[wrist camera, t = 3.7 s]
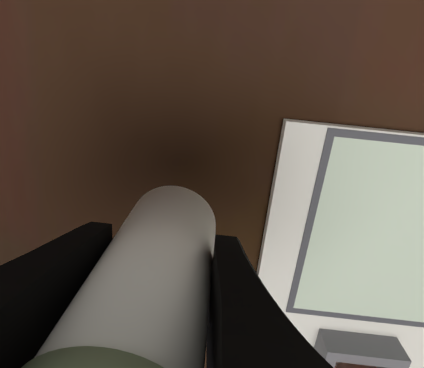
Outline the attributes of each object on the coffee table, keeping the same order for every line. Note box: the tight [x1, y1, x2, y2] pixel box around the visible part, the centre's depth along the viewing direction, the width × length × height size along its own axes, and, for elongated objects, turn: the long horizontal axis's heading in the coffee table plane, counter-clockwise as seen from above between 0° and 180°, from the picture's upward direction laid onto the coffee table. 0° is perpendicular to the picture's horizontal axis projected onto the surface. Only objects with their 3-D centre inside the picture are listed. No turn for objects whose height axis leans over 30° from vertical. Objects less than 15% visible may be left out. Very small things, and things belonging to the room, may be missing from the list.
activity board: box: [257, 119, 424, 368], centre depth 18 cm, size 14×18×3 cm
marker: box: [21, 186, 216, 368], centre depth 7 cm, size 3×3×8 cm
